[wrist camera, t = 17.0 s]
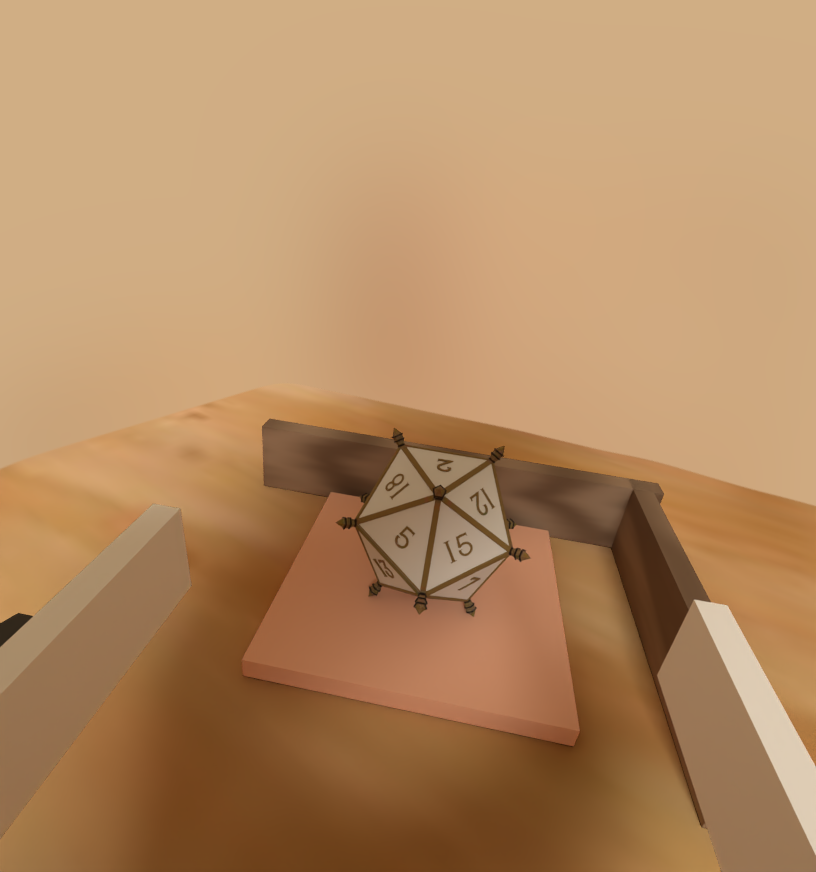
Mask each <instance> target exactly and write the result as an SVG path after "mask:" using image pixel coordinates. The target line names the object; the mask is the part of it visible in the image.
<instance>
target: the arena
mask: <svg viewBox="0 0 816 872" xmlns="http://www.w3.org/2000/svg"><path fill="white" fill-rule="evenodd" d="M262 437H263V469H264V485H265V486H270V487H276V488H282V489H287V490H293V491H298V492H304V493H310V494H315V495H321V496H326V497H329V495H330V493H331V492H334V493H340V494H345V495H351V496H357V497H359V496H361V495H363V494H365V493H367V494H368V495H369V494H370V493H371V491H372V490H373V488H374V486H375V485H376V483H377V481H378V480H379V478H380V476H381V475H382V473H383V471H384V470H385V468H386V467H387V465H388V463H389V462H390V460H391V458H392V457H393V455H394V453H395V452H396V450H397V448H398V445H397V444H396V443H394V439H388V438H382V437H376V436H370V435H364V434H358V433H352V432H346V431H340V430H334V429H328V428H322V427H316V426H310V425H304V424H298V423H292V422H286V421H280V420H274V419H269V420H268V421H267V422H266V423H265V424H264V425H263V426H262ZM404 443H405V444H406V445H412V446H418V447H424V448H430V449H436V450H442V451H448V452H454V453H460V454H466V455H472V456H478V457H484V458H489V457H490V455H484V454H478V453H472V452H466V451H460V450H454V449H448V448H442V447H436V446H430V445H424V444H418V443H412V442H406V441H404ZM494 464H495V469H496V473H497V478H498V482H499V487H500V491H501V496H502V500H503V505H504V509H505V514H506V518H507V519H508V520H509V519H510V518H511V519H512V520H513V521H514V522H515V523H516V524H517V525H519V526H525V527H530V528H536V529H542V530H547V531H549V537H555V538H561V539H566V540H572V541H577V542H583V543H588V544H594V545H600V546H605V547H611V549H612V552H613V555H614V558H615V561H616V564H617V567H618V570H619V573H620V576H621V579H622V582H623V586H624V589H625V592H626V595H627V598H628V601H629V604H630V607H631V610H632V613H633V616H634V620H635V623H636V626H637V629H638V632H639V635H640V638H641V641H642V644H643V647H644V650H645V653H646V657H647V660H648V663H649V666H650V669H651V672H652V675H653V678H654V681H655V684H656V687H657V691H658V694H659V697H660V700H661V703H662V706H663V709H664V712H665V715H666V718H667V721H668V724H669V728H670V731H671V734H672V737H673V740H674V743H675V746H676V749H677V752H678V755H679V758H680V761H681V765H682V768H683V771H684V774H685V777H686V780H687V783H688V786H689V789H690V792H691V795H692V799H693V802H694V805H695V808H696V811H697V814H698V817H699V820H700V823H701V826H702V827H703V828H707V826H706V823H705V820H704V817H703V814H702V811H701V808H700V805H699V802H698V799H697V796H696V793H695V790H694V787H693V784H692V781H691V778H690V775H689V771H688V768H687V765H686V762H685V759H684V756H683V753H682V750H681V747H680V744H679V741H678V738H677V735H676V732H675V729H674V726H673V723H672V720H671V717H670V713H669V710H668V707H667V704H666V701H665V698H664V695H663V692H662V689H661V686H660V683H659V680H658V677H657V674H658V672H659V670H660V668H661V666H662V664H663V662H664V660H665V658H666V656H667V654H668V652H669V650H670V648H671V646H672V644H673V642H674V639H675V637H676V635H677V633H678V631H679V629H680V627H681V625H682V623H683V621H684V619H685V617H686V615H687V613H688V611H689V609H690V607H691V605H692V603H693V601H694V600H700V601H705V602H710V600H709V598H708V596H707V594H706V592H705V590H704V588H703V586H702V584H701V582H700V580H699V578H698V577H697V575H696V573H695V571H694V569H693V567H692V565H691V563H690V561H689V559H688V557H687V555H686V554H685V552H684V550H683V548H682V546H681V544H680V542H679V540H678V538H677V536H676V534H675V532H674V530H673V529H672V527H671V525H670V523H669V521H668V519H667V517H666V515H665V513H664V511H663V509H662V507H661V505H660V503H661V500H662V498H663V495H664V493H663V491H662V490H661V488H660V486H659V484H658V483H652V482H646V481H640V480H634V479H628V478H622V477H616V476H610V475H604V474H598V473H592V472H586V471H580V470H574V469H568V468H562V467H556V466H550V465H544V464H538V463H532V462H526V461H520V460H514V459H508V458H502V457H501V458H500V460H498V461H496V462H495V463H494Z"/></svg>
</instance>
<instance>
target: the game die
mask: <svg viewBox="0 0 816 872" xmlns="http://www.w3.org/2000/svg"><path fill="white" fill-rule="evenodd" d="M402 434H403V433H401V432H399V431H398V430H397V429H395V428H394V432H393V437H392V438H393V439H394V443H396V444H397V445H398V448H397V450H396V452H395V453H394V455H393V457H392V458H391V460H390V462H389V463H388V465H387V467H386V468H385V470H384V471H383V473H382V475H381V476H380V478H379V480H378V481H377V483H376V485H375V486H374V488H373V490H372V491H371V493H370V494H369V495H368V494H367V493H365V494H363V495H361V496H359V497H360V499H361V502H363V503H364V505H363V506H362V508H361V509H360V511H359V513H358V514H357V516H356V518H355V519H351V517H347V518H346V517H342V519H340V520H339V521H337V522H335V523H337V524H338V525H339V526H341V527H342V528H343V530H344V529H345V528H348V529H350V528H351V527H355V528H356V530H357V533H358V535H359V538H360V540H361V542H362V545H363V547H364V550H365V552H366V554H367V557H368V559H369V561H370V564H371V566H372V569H373V571H374V573H375V576H376V578H377V580H378V581H377V582H376V583H375V584H374V583H373V584H372V586H371V587H369V596H374V595H376V596H377V594H378V592H380V590H381V587H382V586H383V587H387V588H390V589H393V590H397V591H400V592H404V593H407V594H410V595H414V596H417V599H416V600H415V605H414V606H413V607H414V608H416V610H417V612H418V614H419V615H420V614H421V613H422V612H423V611H424V610H427V606H426V605H427V604H428V603H427V600H426V598H428V599H438V600H449V601H460V602H464V603H465V605H464V608H465V609H466V613H468V614H470V615H471V616H473V617H474V615H475V610H476V609H477V607H475V606H474V604H475V603H473V602H472V601H471V597H472V596H473V595H474V594H475V593H476V592H477V591H478V590H479V589H480V588H481V586H482V585H483V584H484V583H485V582H486V581H487V580H488V579H489V578H490V577H491V575H492V574H493V573H494V572H495V571H496V570H497V569H498V568H499V567H500V566H501V565H502V563H503V562H504V561H505V560H506V559H507V558H508V557H509V556H513V557H514V559H515V560H516V559H518V560H519V561H520V562H521V561H523V560H527V559H531V558H530V556H529V555H528V554H527V553H526V550H524V549H522V550H521V549H520V548H513V545H512V541H511V536H510V532H509V529H514V527H515V526H516V525H517V524H516V523H515V522H514V521H513V520H512V519H511V518H510V519H509V520H508V519H507V518H506V514H505V509H504V505H503V500H502V496H501V491H500V487H499V482H498V478H497V473H496V469H495V464H494V463H495V462H496V461H498V460H500V458H501V457H502V456H503V453H504V447H505V446H503V447H500V448H497V449H496V448H495V450H494V451H493V452H491V456H490V457H489V458H484V457H478V456H472V455H466V454H460V453H454V452H448V451H442V450H436V449H430V448H424V447H418V446H412V445H406V444H405V443H404V438H403V436H402ZM503 457H504V456H503ZM369 596H368V597H369Z"/></svg>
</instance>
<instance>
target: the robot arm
mask: <svg viewBox="0 0 816 872" xmlns="http://www.w3.org/2000/svg"><path fill="white" fill-rule="evenodd" d="M191 586H192V585H191V578H190V571H189V564H188V557H187V550H186V544H185V537H184V530H183V523H182V516H181V509H180V508H175V507H170V506H164V505H158V504H152V505H151V506H150V507H149V508H148V509H147V510H146V511H145V512H144V513H143V514H142V515H141V516H140V517H139V518H138V519H136V520H135V521H134V522H133V523H132V524H131V525H130V526H129V527H128V528H127V529H126V530H125V531H124V532H123V533H122V534H120V535H119V536H118V537H117V538H116V539H115V540H114V541H113V542H112V543H111V544H110V545H109V546H108V547H107V548H106V549H104V550H103V551H102V552H101V553H100V554H99V555H98V556H97V557H96V558H95V559H94V560H93V561H92V562H91V563H90V564H89V565H87V566H86V567H85V568H84V569H83V570H82V571H81V572H80V573H79V574H78V575H77V576H76V577H75V578H74V579H73V580H71V581H70V582H69V583H68V584H67V585H66V586H65V587H64V588H63V589H62V590H61V591H60V592H59V593H58V594H57V595H55V596H54V597H53V598H52V599H51V600H50V601H49V602H48V603H47V604H46V605H45V606H44V607H43V608H42V609H41V610H39V611H38V612H37V613H36V614H35V615H34V616H30V615H25V614H20V613H18V614H16V615H14V616H12V617H11V618H9V619H7V620H5V621H4V622H2V623H0V839H1V838H2V836H3V835H4V834H5V832H6V831H7V830H8V828H9V827H10V826H11V824H12V823H13V822H14V820H15V819H16V818H17V816H18V815H19V814H20V812H21V811H22V810H23V808H24V807H25V806H26V804H27V803H28V802H29V801H30V799H31V798H32V797H33V795H34V794H35V793H36V791H37V790H38V789H39V787H40V786H41V785H42V783H43V782H44V781H45V779H46V778H47V777H48V775H49V774H50V773H51V771H52V770H53V769H54V767H55V766H56V765H57V763H58V762H59V761H60V759H61V758H62V757H63V755H64V754H65V753H66V751H67V750H68V749H69V747H70V746H71V745H72V744H73V742H74V741H75V740H76V738H77V737H78V736H79V734H80V733H81V732H82V730H83V729H84V728H85V726H86V725H87V724H88V722H89V721H90V720H91V718H92V717H93V716H94V714H95V713H96V712H97V710H98V709H99V708H100V706H101V705H102V704H103V702H104V701H105V700H106V698H107V697H108V696H109V694H110V693H111V692H112V691H113V689H114V688H115V687H116V685H117V684H118V683H119V681H120V680H121V679H122V677H123V676H124V675H125V673H126V672H127V671H128V669H129V668H130V667H131V665H132V664H133V663H134V661H135V660H136V659H137V657H138V656H139V655H140V653H141V652H142V651H143V649H144V648H145V647H146V645H147V644H148V643H149V641H150V640H151V639H152V637H153V636H154V635H155V634H156V632H157V631H158V630H159V628H160V627H161V626H162V624H163V623H164V622H165V620H166V619H167V618H168V616H169V615H170V614H171V612H172V611H173V610H174V608H175V607H176V606H177V604H178V603H179V602H180V600H181V599H182V598H183V596H184V595H185V594H186V592H187V591H188V590H189V588H190V587H191ZM657 677H658V680H659V683H660V686H661V689H662V692H663V695H664V698H665V701H666V704H667V707H668V710H669V713H670V717H671V720H672V723H673V726H674V729H675V732H676V735H677V738H678V741H679V744H680V747H681V750H682V753H683V756H684V759H685V762H686V765H687V768H688V771H689V775H690V778H691V781H692V784H693V787H694V790H695V793H696V796H697V799H698V802H699V805H700V808H701V811H702V814H703V817H704V820H705V823H706V826H707V829H708V833H709V836H710V839H711V842H712V845H713V848H714V851H715V854H716V857H717V860H718V863H719V866H720V869H721V872H816V766H815V765H814V763H813V761H812V759H811V757H810V755H809V754H808V752H807V750H806V748H805V746H804V745H803V743H802V741H801V739H800V737H799V735H798V734H797V732H796V730H795V728H794V726H793V724H792V723H791V721H790V719H789V717H788V715H787V714H786V712H785V710H784V708H783V706H782V704H781V703H780V701H779V699H778V697H777V695H776V693H775V692H774V690H773V688H772V686H771V684H770V682H769V681H768V679H767V677H766V675H765V673H764V672H763V670H762V668H761V666H760V664H759V662H758V661H757V659H756V657H755V655H754V653H753V651H752V650H751V648H750V646H749V644H748V642H747V641H746V639H745V637H744V635H743V633H742V631H741V630H740V628H739V626H738V624H737V622H736V620H735V619H734V617H733V615H732V613H731V611H730V609H729V608H728V606H727V605H722V604H716V603H711V602H705V601H700V600H694V601H693V603H692V605H691V607H690V609H689V611H688V613H687V615H686V617H685V619H684V621H683V623H682V625H681V627H680V629H679V631H678V633H677V635H676V637H675V639H674V642H673V644H672V646H671V648H670V650H669V652H668V654H667V656H666V658H665V660H664V662H663V664H662V666H661V668H660V670H659V672H658V674H657Z"/></svg>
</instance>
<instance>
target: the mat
mask: <svg viewBox="0 0 816 872" xmlns="http://www.w3.org/2000/svg"><path fill="white" fill-rule="evenodd" d="M363 505H364V503H363V502H361V499H360V497H357V496H351V495H345V494H340V493H334V492H331V493H330V495H329V497H328V498H327V500H326V502H325V504H324V506H323V508H322V510H321V512H320V513H319V515H318V517H317V519H316V521H315V523H314V525H313V527H312V528H311V530H310V532H309V534H308V536H307V538H306V540H305V542H304V544H303V545H302V547H301V549H300V551H299V553H298V555H297V557H296V559H295V560H294V562H293V564H292V566H291V568H290V570H289V572H288V574H287V575H286V577H285V579H284V581H283V583H282V585H281V587H280V589H279V590H278V592H277V594H276V596H275V598H274V600H273V602H272V604H271V606H270V607H269V609H268V611H267V613H266V615H265V617H264V619H263V621H262V622H261V624H260V626H259V628H258V630H257V632H256V634H255V636H254V637H253V639H252V641H251V643H250V645H249V647H248V649H247V651H246V652H245V654H244V656H243V658H242V672H243V676H247V677H252V678H257V679H261V680H266V681H271V682H275V683H280V684H285V685H289V686H294V687H299V688H303V689H308V690H313V691H317V692H322V693H327V694H331V695H336V696H341V697H345V698H350V699H355V700H359V701H364V702H369V703H373V704H378V705H383V706H387V707H392V708H397V709H401V710H406V711H411V712H415V713H420V714H425V715H429V716H434V717H439V718H443V719H448V720H452V721H457V722H462V723H466V724H471V725H476V726H480V727H485V728H490V729H494V730H499V731H504V732H508V733H513V734H518V735H522V736H527V737H532V738H536V739H541V740H546V741H550V742H555V743H560V744H564V745H569V746H574V744H575V742H576V740H577V737H578V735H579V733H580V728H579V722H578V715H577V709H576V703H575V696H574V690H573V684H572V677H571V671H570V665H569V658H568V652H567V646H566V639H565V633H564V627H563V620H562V614H561V608H560V601H559V595H558V588H557V582H556V576H555V569H554V563H553V557H552V550H551V544H550V538H549V531H547V530H542V529H536V528H530V527H525V526H519V525H516V526H515V527H514V529H509V532H510V536H511V541H512V545H513V548H520V549H521V550H522V549H524V550H526V553H527V554H528V555H529V556H530V558H531V559H527V560H523V561H521V562H520V561H519V560H518V559H516V560H515V559H514V557H513V556H509V557H508V558H507V559H506V560H505V561H504V562H503V563H502V565H501V566H500V567H499V568H498V569H497V570H496V571H495V572H494V573H493V574H492V575H491V577H490V578H489V579H488V580H487V581H486V582H485V583H484V584H483V585H482V586H481V588H480V589H479V590H478V591H477V592H476V593H475V594H474V595H473V596H472V597H471V601H472V602H473V603H475V604H474V606H475V607H477V609H476V610H475V615H474V617H473V616H471V615H470V614H468V613H466V609H465V608H464V605H465V603H464V602H460V601H449V600H438V599H428V598H426V600H427V603H428V604H427V605H426V606H427V610H424V611H423V612H422V613H421V614H420V615H419V614H418V612H417V610H416V608H414V607H413V606H414V605H415V600H416V599H417V596H414V595H410V594H407V593H404V592H400V591H397V590H393V589H390V588H387V587H383V586H382V587H381V590H380V592H378V594H377V596H376V595H374V596H369V587H371V586H372V584H373V583H374V584H375V583H376V582H377V581H378V580H377V578H376V576H375V573H374V571H373V569H372V566H371V564H370V561H369V559H368V557H367V554H366V552H365V550H364V547H363V545H362V542H361V540H360V538H359V535H358V533H357V530H356V528H355V527H351V528H350V529H348V528H345V529H344V530H343V528H342V527H341V526H339V525H338V524H337V523H335V522H337V521H339V520H340V519H342V517H346V518H347V517H351V519H355V518H356V516H357V514H358V513H359V511H360V509H361V508H362V506H363ZM368 596H369V597H368Z"/></svg>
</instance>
